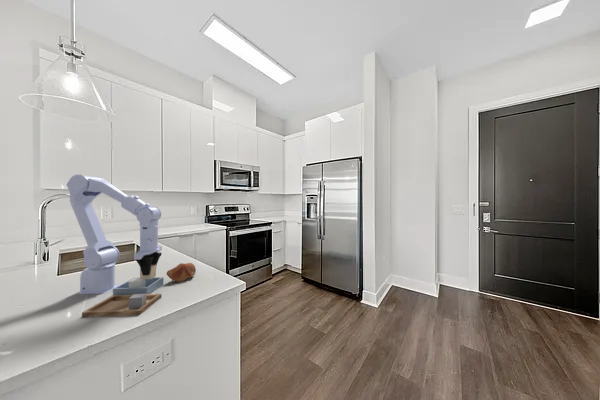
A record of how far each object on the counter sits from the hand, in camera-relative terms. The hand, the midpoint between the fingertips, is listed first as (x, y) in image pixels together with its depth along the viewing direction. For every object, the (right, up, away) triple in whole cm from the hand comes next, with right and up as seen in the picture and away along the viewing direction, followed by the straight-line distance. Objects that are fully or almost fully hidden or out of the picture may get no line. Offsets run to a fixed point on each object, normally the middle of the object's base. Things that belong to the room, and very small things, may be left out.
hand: (148, 273), depth 86 cm
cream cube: (0, -2, 0) cm, 2 cm away
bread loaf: (+7, -7, +11) cm, 15 cm away
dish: (-2, -6, -2) cm, 7 cm away
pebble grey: (-2, -6, -4) cm, 7 cm away
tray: (+2, -6, -14) cm, 16 cm away
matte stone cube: (+7, -6, -16) cm, 18 cm away
